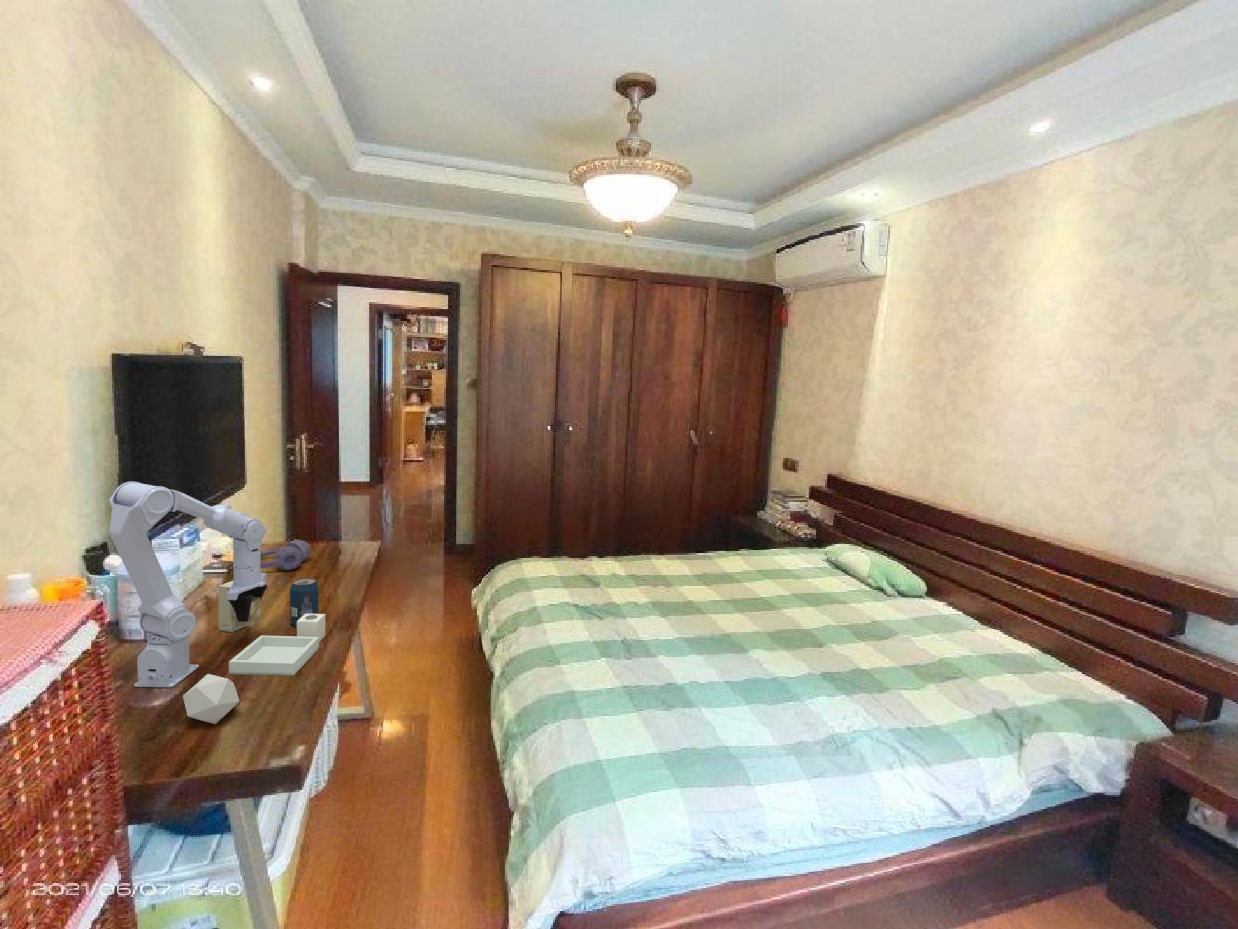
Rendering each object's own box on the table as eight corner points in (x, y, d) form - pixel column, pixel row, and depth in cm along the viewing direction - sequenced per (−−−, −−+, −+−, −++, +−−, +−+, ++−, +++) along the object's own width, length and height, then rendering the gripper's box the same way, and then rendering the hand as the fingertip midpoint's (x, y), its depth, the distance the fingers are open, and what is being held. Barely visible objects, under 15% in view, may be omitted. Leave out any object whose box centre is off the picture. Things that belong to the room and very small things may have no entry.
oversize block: (317, 644, 151) (317, 621, 151) (296, 643, 151) (296, 620, 150) (325, 635, 156) (325, 613, 155) (305, 635, 156) (305, 613, 155)
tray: (293, 675, 135) (293, 663, 135) (229, 674, 134) (228, 661, 134) (319, 648, 149) (319, 637, 149) (261, 646, 148) (260, 635, 147)
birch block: (252, 626, 147) (251, 602, 146) (235, 625, 147) (234, 602, 146) (260, 620, 151) (260, 597, 150) (244, 619, 150) (243, 596, 150)
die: (249, 714, 121) (241, 666, 124) (225, 716, 112) (217, 664, 115) (205, 731, 119) (198, 682, 122) (177, 734, 111) (170, 681, 114)
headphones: (316, 556, 218) (257, 564, 214) (312, 535, 216) (252, 542, 213) (298, 572, 200) (234, 581, 196) (294, 549, 198) (229, 557, 195)
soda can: (305, 616, 167) (305, 575, 166) (324, 621, 165) (324, 579, 163) (284, 625, 161) (283, 582, 159) (303, 630, 159) (303, 587, 157)
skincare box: (232, 633, 154) (231, 588, 152) (218, 630, 155) (216, 585, 153) (252, 623, 160) (251, 580, 159) (238, 621, 161) (237, 578, 159)
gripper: (248, 575, 140) (249, 629, 142) (278, 557, 154) (278, 607, 156) (216, 573, 139) (218, 628, 141) (249, 556, 154) (250, 606, 155)
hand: (247, 617), depth 148 cm, fingers closed on birch block, 4 cm apart
